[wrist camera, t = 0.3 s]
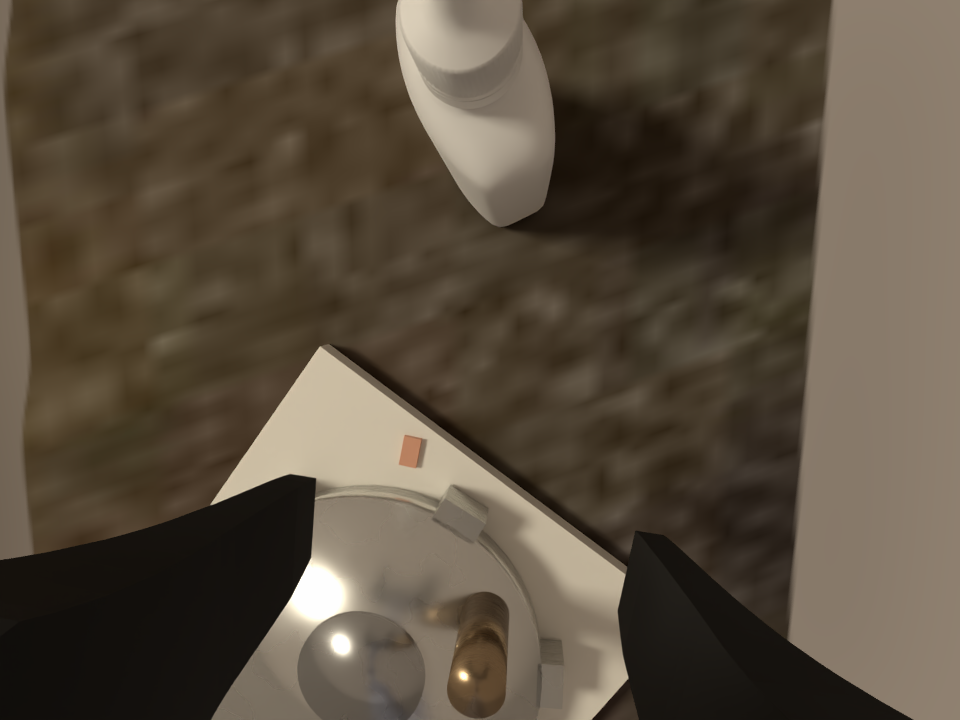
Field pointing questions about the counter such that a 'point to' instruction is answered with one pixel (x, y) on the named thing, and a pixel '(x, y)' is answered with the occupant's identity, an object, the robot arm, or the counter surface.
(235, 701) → the tabbed shallow bowl
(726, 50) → the counter surface
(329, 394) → the cap plate
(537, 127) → the eye dropper bottle
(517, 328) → the counter surface
